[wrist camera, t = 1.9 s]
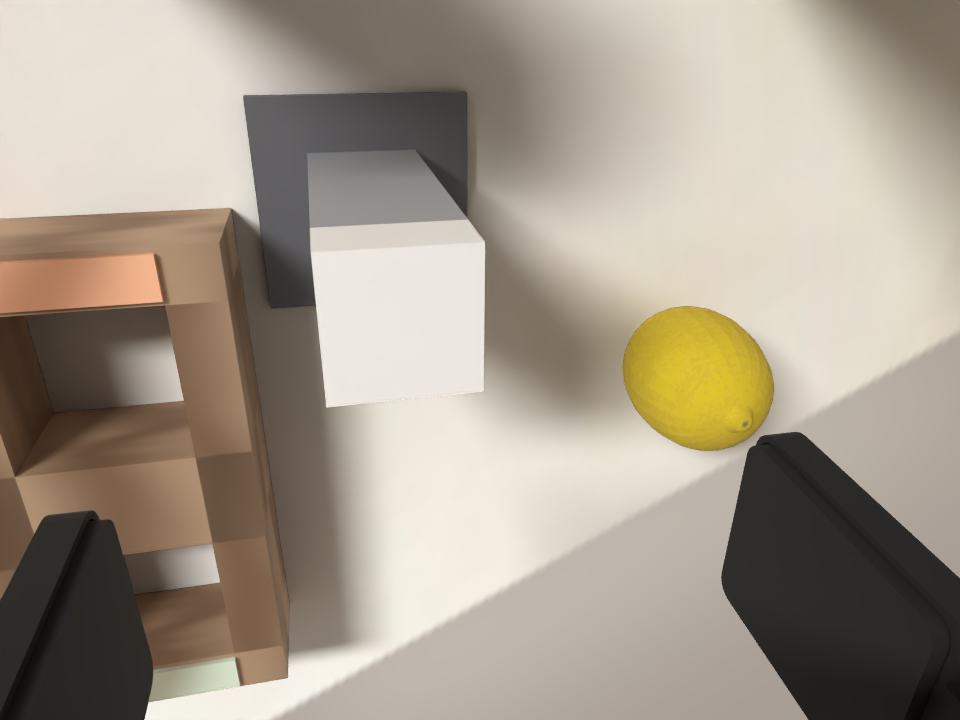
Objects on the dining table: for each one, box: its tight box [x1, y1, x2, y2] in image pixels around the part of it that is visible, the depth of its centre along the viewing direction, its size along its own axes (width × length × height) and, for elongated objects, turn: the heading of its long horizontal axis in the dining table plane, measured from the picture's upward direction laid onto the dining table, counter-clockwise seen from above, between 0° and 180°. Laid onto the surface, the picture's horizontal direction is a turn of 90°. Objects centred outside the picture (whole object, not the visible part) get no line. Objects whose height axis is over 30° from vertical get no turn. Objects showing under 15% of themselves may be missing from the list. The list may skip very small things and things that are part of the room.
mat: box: [243, 92, 467, 308], centre depth 28 cm, size 8×8×1 cm
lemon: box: [623, 306, 774, 451], centre depth 31 cm, size 6×6×8 cm
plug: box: [307, 150, 485, 408], centre depth 23 cm, size 4×4×12 cm
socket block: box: [0, 208, 289, 702], centre depth 29 cm, size 10×20×5 cm, turn 0°
